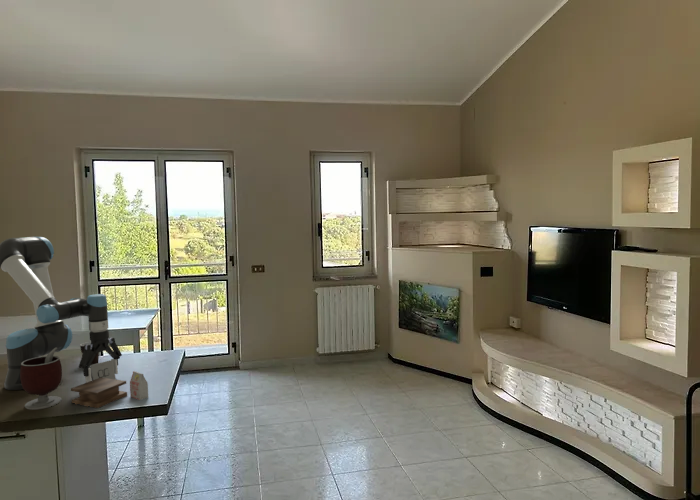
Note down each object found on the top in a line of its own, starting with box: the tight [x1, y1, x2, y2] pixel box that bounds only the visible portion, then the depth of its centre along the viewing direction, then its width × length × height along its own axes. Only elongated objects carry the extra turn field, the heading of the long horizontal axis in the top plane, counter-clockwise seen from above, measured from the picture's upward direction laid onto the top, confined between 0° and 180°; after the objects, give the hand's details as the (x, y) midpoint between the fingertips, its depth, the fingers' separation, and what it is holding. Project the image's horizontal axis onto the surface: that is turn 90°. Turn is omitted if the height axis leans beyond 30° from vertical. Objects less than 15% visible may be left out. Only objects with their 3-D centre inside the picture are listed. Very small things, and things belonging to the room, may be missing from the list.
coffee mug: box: [79, 341, 100, 366], centre depth 250 cm, size 12×9×10 cm
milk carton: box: [129, 370, 149, 401], centre depth 204 cm, size 4×7×10 cm, turn 53°
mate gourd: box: [20, 348, 63, 411], centre depth 199 cm, size 16×14×20 cm
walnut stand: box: [70, 377, 128, 409], centre depth 202 cm, size 14×14×6 cm
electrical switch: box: [89, 359, 117, 380], centre depth 222 cm, size 9×5×9 cm, turn 141°
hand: (102, 378), depth 222 cm, fingers open, 13 cm apart
